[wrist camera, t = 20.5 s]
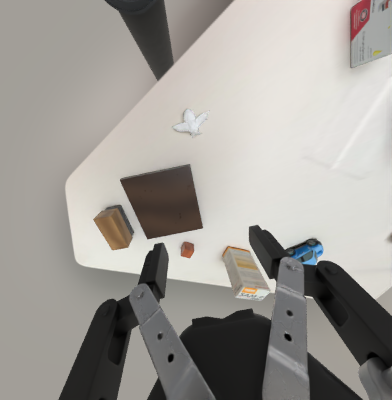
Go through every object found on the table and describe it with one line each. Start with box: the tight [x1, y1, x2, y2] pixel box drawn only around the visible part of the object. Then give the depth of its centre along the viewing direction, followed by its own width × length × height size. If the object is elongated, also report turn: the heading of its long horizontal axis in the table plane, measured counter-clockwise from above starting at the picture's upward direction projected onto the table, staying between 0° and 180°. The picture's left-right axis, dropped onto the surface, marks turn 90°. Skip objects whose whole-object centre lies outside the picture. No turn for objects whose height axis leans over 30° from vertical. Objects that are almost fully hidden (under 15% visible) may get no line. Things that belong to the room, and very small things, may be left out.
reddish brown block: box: [181, 242, 194, 258], centre depth 42 cm, size 3×3×3 cm
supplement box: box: [223, 247, 270, 301], centre depth 41 cm, size 8×5×13 cm, turn 70°
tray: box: [120, 164, 203, 239], centre depth 36 cm, size 18×16×1 cm
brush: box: [93, 205, 134, 250], centre depth 35 cm, size 4×10×6 cm, turn 9°
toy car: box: [286, 239, 323, 265], centre depth 46 cm, size 6×12×6 cm, turn 122°
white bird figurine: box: [172, 109, 210, 137], centre depth 26 cm, size 8×5×5 cm, turn 111°
